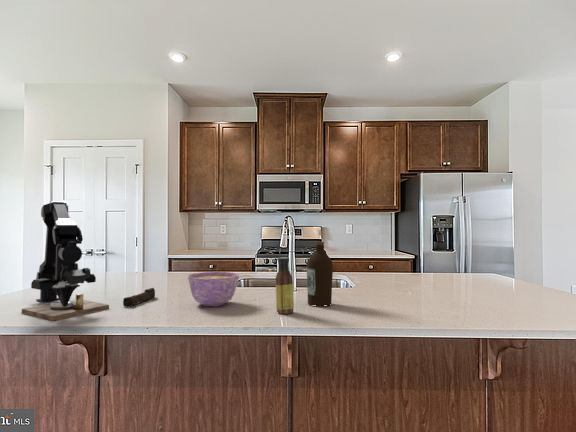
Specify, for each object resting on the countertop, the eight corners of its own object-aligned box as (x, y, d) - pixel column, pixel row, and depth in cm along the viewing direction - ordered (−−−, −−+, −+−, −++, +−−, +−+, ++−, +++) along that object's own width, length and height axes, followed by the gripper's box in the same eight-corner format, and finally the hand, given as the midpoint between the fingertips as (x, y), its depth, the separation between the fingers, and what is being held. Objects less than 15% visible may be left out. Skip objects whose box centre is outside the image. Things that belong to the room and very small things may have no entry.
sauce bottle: (295, 311, 134) (296, 257, 134) (290, 315, 128) (290, 258, 128) (279, 310, 136) (279, 256, 136) (272, 313, 130) (273, 258, 130)
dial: (44, 307, 131) (44, 293, 131) (72, 301, 139) (72, 288, 139) (66, 312, 124) (67, 297, 124) (95, 306, 132) (95, 292, 132)
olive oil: (324, 300, 153) (325, 241, 153) (337, 306, 143) (338, 242, 144) (301, 302, 149) (302, 241, 149) (313, 308, 139) (314, 242, 139)
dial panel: (21, 312, 129) (21, 308, 129) (77, 302, 146) (78, 298, 146) (52, 320, 119) (52, 315, 119) (109, 308, 136) (109, 304, 136)
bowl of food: (249, 304, 145) (249, 275, 145) (206, 313, 131) (207, 280, 131) (218, 297, 159) (219, 270, 159) (177, 304, 144) (177, 275, 144)
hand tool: (131, 308, 138) (131, 295, 139) (122, 307, 139) (122, 295, 140) (160, 298, 157) (160, 287, 157) (152, 297, 158) (152, 287, 158)
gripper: (49, 264, 113) (48, 315, 112) (105, 259, 129) (104, 303, 129) (30, 262, 118) (29, 310, 118) (86, 257, 134) (85, 300, 134)
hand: (64, 306), depth 124 cm, fingers closed
